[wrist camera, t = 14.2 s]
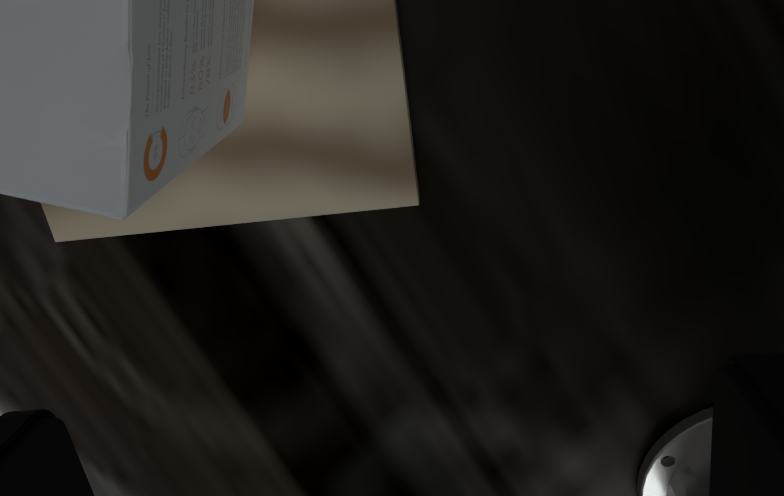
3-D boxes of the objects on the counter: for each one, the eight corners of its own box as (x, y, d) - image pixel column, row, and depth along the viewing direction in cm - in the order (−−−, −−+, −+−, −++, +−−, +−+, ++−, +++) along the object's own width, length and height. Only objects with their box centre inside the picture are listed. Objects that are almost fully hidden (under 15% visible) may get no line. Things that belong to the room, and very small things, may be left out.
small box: (119, -80, 28) (-113, -115, 16) (261, -51, 28) (135, -63, 16) (118, 101, 31) (-76, 184, 19) (244, 127, 31) (129, 224, 20)
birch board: (419, 195, 34) (418, 204, 33) (69, 231, 36) (55, 242, 35) (364, -264, 26) (360, -277, 25) (-80, -183, 28) (-106, -191, 27)
